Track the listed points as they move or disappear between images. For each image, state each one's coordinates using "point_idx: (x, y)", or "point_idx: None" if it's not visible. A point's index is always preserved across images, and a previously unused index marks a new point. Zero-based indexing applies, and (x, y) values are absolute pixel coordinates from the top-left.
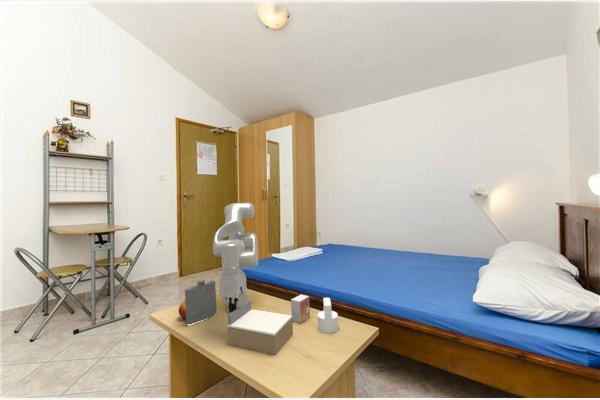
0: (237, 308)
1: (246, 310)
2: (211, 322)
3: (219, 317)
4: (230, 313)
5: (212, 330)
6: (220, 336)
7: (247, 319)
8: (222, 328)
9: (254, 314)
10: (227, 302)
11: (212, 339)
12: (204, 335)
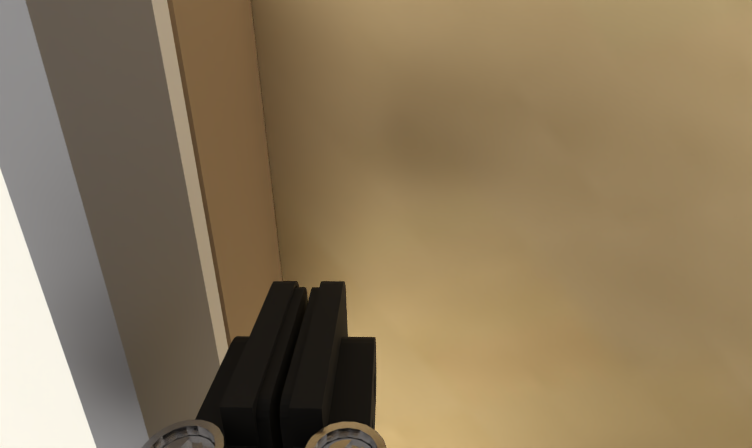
0: (128, 361)
1: None
2: (739, 294)
3: (704, 390)
4: (36, 92)
5: (629, 166)
6: (454, 92)
7: (9, 254)
8: (539, 233)
9: (52, 398)
10: (378, 440)
11: (506, 3)
12: (663, 43)
